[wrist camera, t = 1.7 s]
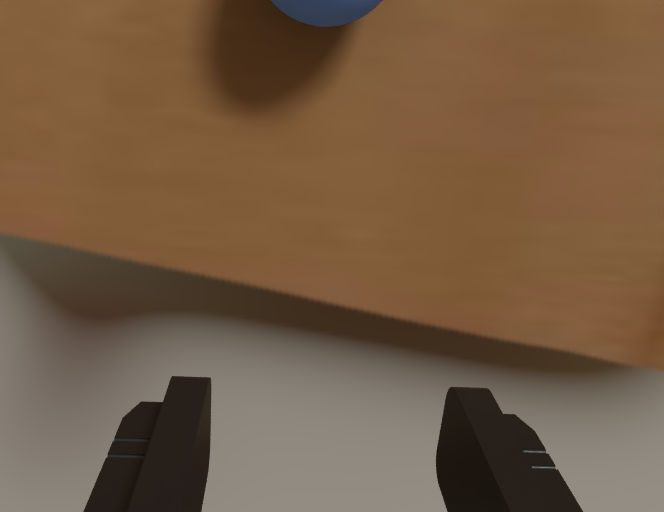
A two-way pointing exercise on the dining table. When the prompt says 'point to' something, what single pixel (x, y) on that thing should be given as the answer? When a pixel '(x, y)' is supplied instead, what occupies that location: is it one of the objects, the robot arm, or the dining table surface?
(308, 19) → the ball
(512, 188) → the dining table surface
